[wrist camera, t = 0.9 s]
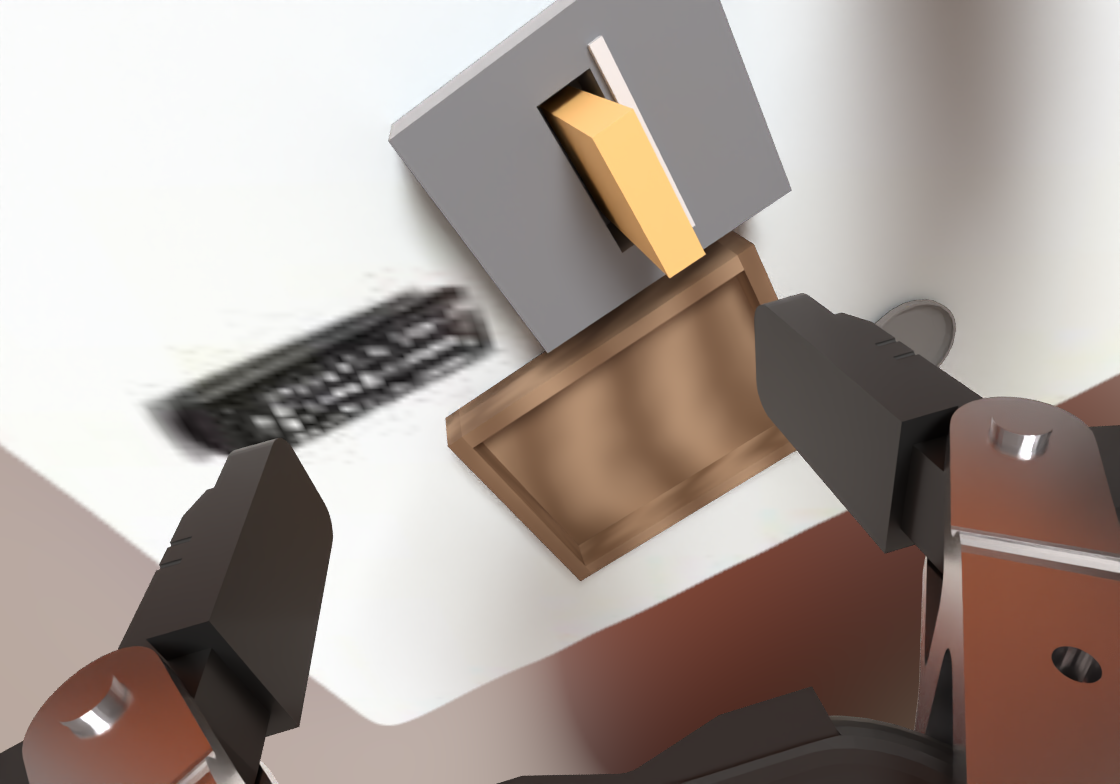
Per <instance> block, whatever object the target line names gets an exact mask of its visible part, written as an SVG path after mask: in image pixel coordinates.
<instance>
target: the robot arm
mask: <svg viewBox="0 0 1120 784" xmlns="http://www.w3.org/2000/svg"><path fill="white" fill-rule="evenodd" d="M754 329H755V358H756V383H757V390H758V395H759V398H760V401H761V404H762V406H763V408H764V410H765V412H766V414H767V416H768V417H769V418H770V419H771V421H772V422H773V423H774V424H775V425H776V426H777V428H778V429H779V430H780V431H781V432H782V434H783V435H784V436H785V437H786V438H787V439H788V441H789V442H790V443H791V444H792V445H793V446H794V448H795V449H796V450H797V451H798V452H799V453H800V455H801V456H802V457H803V458H804V459H805V461H806V462H807V463H808V464H809V465H810V466H811V468H812V469H813V470H814V471H815V472H816V473H817V475H818V476H819V477H820V478H821V479H822V480H823V482H824V483H825V484H826V485H827V486H828V488H829V489H830V490H831V491H832V492H833V493H834V495H835V496H836V497H837V498H838V499H839V500H840V502H841V503H842V504H843V505H844V506H845V507H846V509H847V510H848V511H849V512H850V513H851V514H852V516H853V517H854V518H855V519H856V520H857V522H858V523H859V524H860V525H861V526H862V527H863V528H864V530H865V531H866V532H867V533H868V534H869V536H870V537H871V538H872V539H873V540H874V542H875V543H876V544H877V545H878V546H879V547H880V548H881V550H882V551H883V552H884V553H888V552H892V551H895V550H898V549H902V548H905V547H909V546H912V545H916V546H917V547H918V548H919V549H920V550H921V551H922V552H923V553H924V554H925V556H926V557H925V563H924V568H923V586H922V617H921V649H920V651H921V652H920V679H919V694H918V704H917V712H916V720H915V730H914V731H913V730H910V729H907V728H904V727H901V726H898V725H895V724H891V723H886V722H882V721H877V720H872V719H868V718H858V717H848V716H828V714H827V712H826V710H825V709H824V707H823V705H822V703H821V702H820V700H819V698H818V696H817V695H816V693H815V691H814V689H813V688H812V687H809V688H806V689H802V690H799V691H796V692H793V693H790V694H786V695H783V696H780V697H776V698H773V699H770V700H767V701H763V702H760V703H757V704H754V705H750V706H747V707H744V708H741V709H738V710H734V711H731V712H728V713H724V714H721V715H719V716H717V717H715V718H714V719H712V720H711V721H709V722H708V723H706V724H705V725H703V726H702V727H700V728H699V729H697V730H696V731H694V732H692V733H691V734H689V735H688V736H687V737H685V738H683V739H682V740H681V741H679V742H677V743H676V744H674V745H673V746H671V747H670V748H668V749H667V750H665V751H663V752H662V753H660V754H659V755H657V756H656V757H654V758H653V759H651V760H650V761H648V762H646V763H645V764H643V765H642V766H640V767H639V768H637V769H635V770H634V771H631V772H627V773H623V774H598V775H596V774H595V775H542V776H520V777H517V778H514V779H511V780H507V781H504V782H501V783H498V784H1120V425H1118V426H1098V427H1088V426H1087V425H1086V424H1085V423H1084V422H1083V421H1081V420H1080V419H1079V418H1077V417H1076V416H1074V415H1072V414H1071V413H1069V412H1067V411H1065V410H1063V409H1061V408H1058V407H1056V406H1053V405H1050V404H1047V403H1044V402H1040V401H1036V400H1031V399H1025V398H1017V397H991V398H984V399H983V398H982V397H981V396H979V395H978V394H976V393H975V392H973V391H972V390H970V389H969V388H967V387H966V386H965V385H963V384H962V383H960V382H959V381H957V380H956V379H954V378H953V377H951V376H950V375H949V374H947V373H946V372H944V371H943V370H941V369H940V368H938V367H937V366H935V365H934V364H933V363H931V362H930V361H928V360H927V359H925V358H924V357H922V356H921V355H919V354H918V355H915V353H914V350H912V349H911V348H909V347H908V346H906V345H905V344H903V343H902V342H900V341H898V342H896V340H895V337H893V336H892V335H890V334H889V333H887V332H886V331H884V330H883V329H882V328H880V327H879V326H877V325H876V324H874V323H873V322H870V321H867V320H863V319H860V318H857V317H854V316H851V315H848V314H845V313H838V314H833V313H832V312H830V311H829V310H828V309H826V308H825V307H824V306H822V305H821V304H820V303H818V302H817V301H815V300H814V299H813V298H811V297H810V296H808V295H807V294H804V293H801V294H797V295H794V296H790V297H787V298H783V299H779V300H776V301H772V302H769V303H765V304H762V305H759V306H758V307H757V308H756V311H755V316H754ZM332 541H333V530H332V523H331V519H330V515H329V512H328V510H327V507H326V505H325V503H324V502H323V500H322V498H321V496H320V495H319V493H318V491H317V490H316V488H315V486H314V484H313V483H312V481H311V479H310V478H309V476H308V474H307V472H306V471H305V469H304V467H303V466H302V464H301V462H300V460H299V459H298V457H297V455H296V453H295V452H294V450H293V449H292V447H291V446H290V444H289V443H288V442H287V441H286V440H284V439H282V438H277V439H273V440H270V441H266V442H263V443H259V444H256V445H252V446H248V447H245V448H241V449H238V450H234V451H232V452H231V453H230V454H229V456H228V458H227V460H226V463H225V465H224V467H223V469H222V471H221V474H220V476H219V478H218V480H217V482H216V485H215V487H214V488H212V489H208V490H206V491H205V493H204V494H203V495H202V496H201V497H200V498H199V499H198V500H197V501H196V502H195V503H194V505H193V506H192V507H191V508H190V509H189V510H188V511H187V512H186V513H185V514H184V515H183V517H182V519H181V521H180V523H179V525H178V527H177V529H176V531H175V533H174V535H173V538H172V540H171V542H170V543H171V547H169V548H167V550H166V552H165V554H164V556H163V558H162V560H161V562H160V564H159V565H160V570H157V571H156V572H155V575H154V576H153V578H152V581H151V583H150V585H149V587H148V589H147V591H146V593H145V595H144V597H143V599H142V601H141V603H140V605H139V607H138V609H137V611H136V613H135V615H134V618H133V620H132V622H131V624H130V626H129V628H128V630H127V632H126V634H125V636H124V638H123V640H122V642H121V644H120V646H119V648H118V650H116V651H113V652H111V653H109V654H106V655H104V656H102V657H100V658H98V659H97V660H95V661H93V662H91V663H90V664H88V665H86V666H85V667H83V668H82V669H80V670H79V671H78V672H77V673H75V674H74V675H73V676H71V677H70V678H69V679H68V680H67V681H65V682H64V683H63V684H62V685H61V686H60V687H59V688H58V689H57V690H56V691H55V692H54V693H53V694H52V695H51V696H50V697H49V698H48V699H47V701H46V702H45V703H44V704H43V706H42V707H41V708H40V710H39V711H38V712H37V714H36V715H35V717H34V718H33V720H32V722H31V724H30V726H29V727H28V730H27V732H26V735H25V737H24V740H23V741H22V742H20V743H18V744H17V745H15V746H13V747H11V748H9V749H7V750H6V751H4V752H2V753H0V784H278V782H277V781H276V779H275V778H274V776H273V774H272V773H271V771H270V770H269V769H268V767H267V766H266V765H265V764H264V763H263V762H262V761H261V760H260V759H261V754H262V750H263V746H264V741H265V737H267V736H270V735H274V734H277V733H280V732H284V731H287V730H290V729H294V728H297V727H299V725H300V720H301V714H302V708H303V703H304V697H305V691H306V686H307V681H308V675H309V670H310V664H311V659H312V653H313V648H314V642H315V636H316V631H317V625H318V620H319V614H320V609H321V603H322V598H323V592H324V587H325V581H326V575H327V570H328V564H329V559H330V553H331V548H332Z"/></svg>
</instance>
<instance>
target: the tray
mask: <svg viewBox="0 0 1120 784" xmlns="http://www.w3.org/2000/svg"><path fill="white" fill-rule="evenodd" d="M703 250H704V252H705V254H706V255H704V256H703V257H701V258H700V259H698V260H697V261H695V262H694V263H692V264H691V265H689V266H688V267H686V268H685V269H683V270H682V271H680V272H679V273H677V274H676V275H674V276H673V277H671V278H669V277H668V276H667V275H664V276H663V277H661V278H660V279H658V280H657V281H655V282H654V283H652V284H651V285H649V286H648V287H646V288H645V289H643V290H642V291H640V292H639V293H637V294H636V295H634V296H633V297H631V298H630V299H628V300H627V301H625V302H624V303H622V304H621V305H619V306H618V307H616V308H615V309H613V310H612V311H610V312H609V313H607V314H606V315H604V316H603V317H601V318H600V319H598V320H597V321H595V322H594V323H592V324H591V325H589V326H588V327H586V328H585V329H583V330H582V331H580V332H579V333H577V334H576V335H574V336H573V337H571V338H570V339H568V340H567V341H565V342H564V343H562V344H561V345H559V346H558V347H556V348H555V349H553V350H552V351H550V352H549V353H547V352H546V351H545V352H544V353H542V354H541V355H539V356H538V357H536V358H535V359H533V360H532V361H530V362H529V363H527V364H526V365H524V366H523V367H521V368H520V369H518V370H517V371H515V372H514V373H512V374H511V375H509V376H508V377H506V378H505V379H503V380H502V381H500V382H499V383H497V384H496V385H494V386H493V387H491V388H490V389H488V390H487V391H485V392H484V393H482V394H481V395H479V396H478V397H476V398H475V399H473V400H472V401H470V402H469V403H467V404H466V405H464V406H463V407H461V408H460V409H458V410H457V411H455V412H454V413H452V414H451V415H449V416H448V417H446V430H447V442H448V447H449V448H450V449H451V450H452V451H453V452H454V453H455V454H456V455H457V456H458V457H459V458H460V459H461V460H462V461H463V462H464V463H465V464H466V465H467V466H468V467H469V468H470V469H471V470H472V471H473V473H474V474H475V475H476V476H477V477H478V478H479V479H480V480H481V481H482V482H483V483H484V484H485V485H486V486H487V487H488V488H489V489H490V490H491V491H492V492H493V493H494V494H495V495H496V496H497V497H498V498H499V499H500V500H501V501H502V502H503V503H504V504H505V505H506V506H507V507H508V508H509V509H510V510H511V511H512V512H513V513H514V514H515V515H516V516H517V517H518V518H519V519H520V520H521V521H522V522H523V523H524V524H525V525H526V526H527V527H528V528H529V529H530V530H531V531H532V532H533V533H534V534H535V535H536V536H537V538H538V539H539V540H540V541H541V542H542V543H543V544H544V545H545V546H546V547H547V548H548V549H549V550H550V551H551V552H552V553H553V554H554V555H555V556H556V557H557V558H558V559H559V560H560V561H561V562H562V563H563V564H564V565H565V566H566V567H567V568H568V569H569V570H570V571H571V572H572V573H573V574H574V575H575V576H576V577H577V578H578V579H579V580H580V581H582V580H583V579H585V578H587V577H588V576H590V575H591V574H593V573H595V572H596V571H598V570H600V569H601V568H603V567H605V566H606V565H608V564H610V563H611V562H613V561H615V560H616V559H618V558H619V557H621V556H623V555H624V554H626V553H628V552H629V551H631V550H633V549H634V548H636V547H638V546H639V545H641V544H643V543H644V542H646V541H647V540H649V539H651V538H652V537H654V536H656V535H657V534H659V533H661V532H662V531H664V530H666V529H667V528H669V527H671V526H672V525H674V524H675V523H677V522H679V521H680V520H682V519H684V518H685V517H687V516H689V515H690V514H692V513H694V512H695V511H697V510H699V509H700V508H702V507H703V506H705V505H707V504H708V503H710V502H712V501H713V500H715V499H717V498H718V497H720V496H722V495H723V494H725V493H727V492H728V491H730V490H731V489H733V488H735V487H736V486H738V485H740V484H741V483H743V482H745V481H746V480H748V479H750V478H751V477H753V476H755V475H756V474H758V473H759V472H761V471H763V470H764V469H766V468H768V467H769V466H771V465H773V464H774V463H776V462H778V461H779V460H781V459H783V458H784V457H786V456H787V455H789V454H791V453H792V452H794V451H796V449H795V448H794V446H793V445H792V444H791V443H790V442H789V441H788V439H787V438H786V437H785V436H784V435H783V434H782V432H781V431H780V430H779V429H778V428H777V426H776V425H775V424H774V423H773V422H772V421H771V419H770V418H769V417H768V416H767V414H766V412H765V410H764V408H763V406H762V404H761V401H760V398H759V395H758V390H757V383H756V358H755V329H754V316H755V311H756V308H757V307H758V306H759V305H762V304H765V303H769V302H772V301H776V300H778V298H777V296H776V294H775V291H774V289H773V287H772V284H771V282H770V280H769V278H768V275H767V273H766V271H765V269H764V266H763V264H762V262H761V259H760V257H759V255H758V253H757V250H756V248H755V246H754V244H753V243H751V242H749V241H748V240H746V239H745V238H743V237H741V236H740V235H738V234H737V233H735V232H734V231H730V232H729V233H727V234H726V235H724V236H723V237H721V238H720V239H718V240H717V241H715V242H714V243H712V244H711V245H709V246H708V247H706V248H705V249H703Z"/></svg>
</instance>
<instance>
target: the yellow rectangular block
mask: <svg viewBox="0 0 1120 784" xmlns="http://www.w3.org/2000/svg"><path fill="white" fill-rule="evenodd" d="M540 108H541V110H542V112H543V113H544V115H545V117H546V118H547V120H548V122H549V123H550V125H551V127H552V129H553V130H554V132H555V134H556V135H557V137H558V139H559V141H560V142H561V144H562V146H563V147H564V149H565V151H566V153H567V154H568V156H569V158H570V159H571V161H572V163H573V165H574V166H575V168H576V170H577V171H578V173H579V175H580V177H581V178H582V180H583V182H584V183H585V185H586V187H587V189H588V190H589V192H590V194H591V195H592V197H593V199H594V200H595V202H596V204H597V206H598V207H599V209H600V211H601V212H602V213H603V214H604V215H605V216H606V217H607V218H608V219H609V220H610V221H611V222H612V223H613V224H614V225H615V226H616V227H617V228H618V229H619V230H620V231H621V232H622V233H623V234H624V235H625V236H626V237H627V238H628V239H630V240H631V241H632V242H633V243H634V244H635V245H636V246H637V247H638V248H639V249H640V250H641V251H642V252H643V253H644V254H645V255H646V256H647V257H648V258H649V259H650V260H651V261H652V262H653V263H654V264H655V265H656V266H657V267H658V268H659V269H660V270H662V271H663V272H664V273H665V274H666V275H667V276H668V277H669V278H671V277H673V276H674V275H676V274H677V273H679V272H680V271H682V270H683V269H685V268H686V267H688V266H689V265H691V264H692V263H694V262H695V261H697V260H698V259H700V258H701V257H703V256H704V255H706V254H705V252H704V250H703V248H702V246H701V244H700V242H699V240H698V238H697V236H696V234H695V232H694V230H693V228H692V226H691V224H690V222H689V220H688V218H687V216H686V214H685V212H684V210H683V208H682V206H681V204H680V202H679V200H678V198H677V196H676V194H675V192H674V190H673V188H672V186H671V184H670V182H669V180H668V178H667V176H666V174H665V172H664V170H663V168H662V166H661V164H660V162H659V160H658V158H657V156H656V154H655V151H654V149H653V147H652V145H651V143H650V141H649V139H648V137H647V135H646V133H645V131H644V129H643V127H642V125H641V123H640V121H639V119H638V117H637V115H636V113H635V111H634V109H632V108H629V107H627V106H624V105H621V104H618V103H616V102H613V101H610V100H607V99H604V98H602V97H599V96H596V95H593V94H591V93H588V92H585V91H582V90H580V89H577V88H574V87H571V86H568V85H567V86H566V87H565V88H563V89H562V90H560V91H559V92H558V93H556V94H555V95H554V96H552V97H551V98H550V99H548V100H547V101H545V102H544V103H543V104H541V105H540Z"/></svg>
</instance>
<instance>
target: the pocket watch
mask: <svg viewBox="0 0 1120 784" xmlns="http://www.w3.org/2000/svg"><path fill="white" fill-rule="evenodd" d="M875 324H876V325H877V326H879V327H880V328H882V329H883V330H884V331H886V332H887V333H889V334H890V335H892V336H893V337H895V340H896V342H898V341H900V342H902V343H903V344H905V345H906V346H908V347H909V348H911V349H912V350H914V353H915V355H918V354H919V355H921V356H922V357H924V358H925V359H927V360H928V361H930V362H931V363H933V364H934V365H935V366H937V367H939V366H940V365H941V364H942V362H943V361H944V360H945V358H946V357H947V355H948V353H949V351H950V349H951V347H952V345H953V341H954V336H955V332H956V323H955V319H954V316H953V315H952V313H951V311H950V310H949V309H948V308H946V307H945V306H944V305H941V304H939V303H937V302H935V301H932V300H927V299H926V300H914V301H910V302H907V303H904V304H902V305H900V306H898V307H896V308H894V309H892V310H891V311H889V312H888V313H887V314H886V315H884V316H883V317H882V318H881V319H880V320H879V321H878V322H876V323H875Z"/></svg>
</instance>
